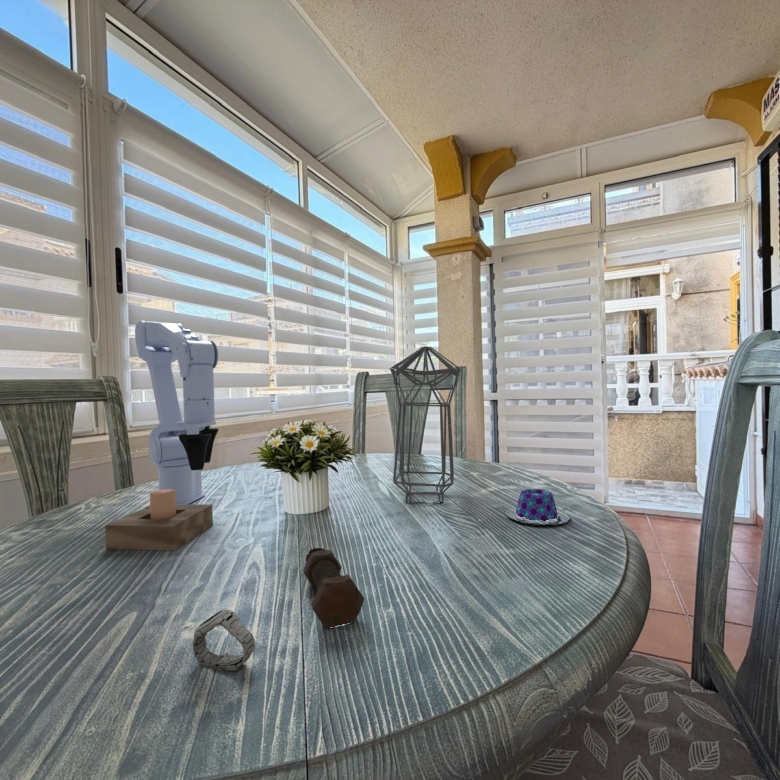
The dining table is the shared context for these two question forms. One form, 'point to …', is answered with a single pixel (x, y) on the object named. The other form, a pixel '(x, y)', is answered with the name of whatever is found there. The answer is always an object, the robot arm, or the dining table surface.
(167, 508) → the peg
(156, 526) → the socket block
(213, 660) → the wristwatch
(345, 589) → the bolt
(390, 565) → the dining table surface
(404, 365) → the geometric lantern
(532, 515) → the pudding
